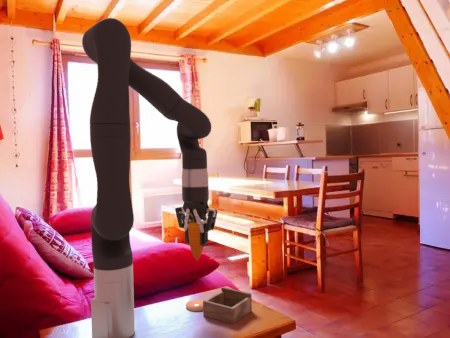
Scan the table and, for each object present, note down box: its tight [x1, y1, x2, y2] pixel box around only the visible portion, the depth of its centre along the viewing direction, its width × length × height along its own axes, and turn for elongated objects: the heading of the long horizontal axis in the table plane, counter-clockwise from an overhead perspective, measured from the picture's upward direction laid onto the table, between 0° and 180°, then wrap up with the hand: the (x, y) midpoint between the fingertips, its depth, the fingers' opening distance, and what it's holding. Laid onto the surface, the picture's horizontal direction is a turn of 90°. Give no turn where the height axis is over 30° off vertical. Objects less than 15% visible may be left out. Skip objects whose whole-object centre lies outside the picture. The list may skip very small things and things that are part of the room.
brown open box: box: [202, 286, 253, 325], centre depth 103 cm, size 10×10×5 cm
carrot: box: [188, 213, 204, 261], centre depth 108 cm, size 5×5×15 cm
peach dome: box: [185, 298, 206, 312], centre depth 109 cm, size 7×7×1 cm
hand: (196, 243), depth 108 cm, fingers closed on carrot, 4 cm apart
